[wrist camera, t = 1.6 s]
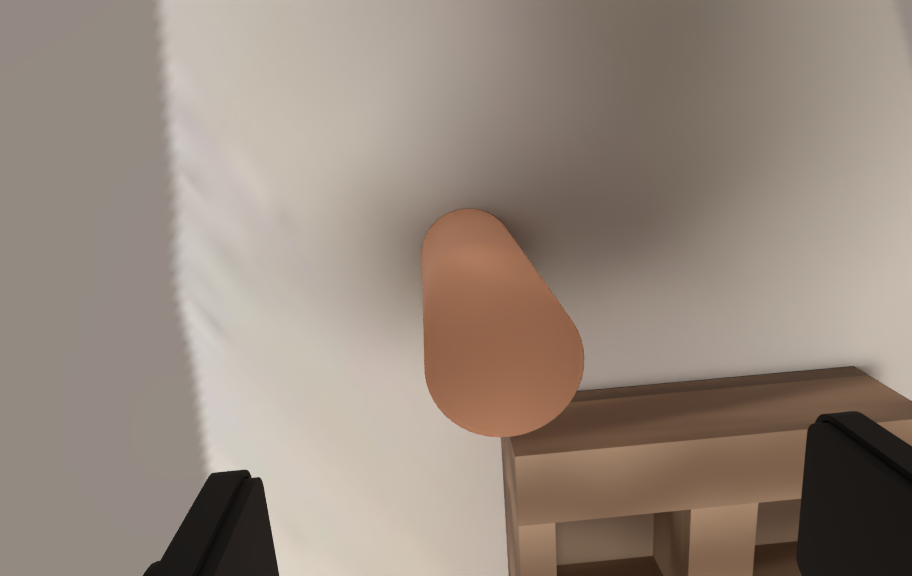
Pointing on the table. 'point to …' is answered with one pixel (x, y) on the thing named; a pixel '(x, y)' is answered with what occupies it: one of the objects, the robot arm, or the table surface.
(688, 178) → the table surface
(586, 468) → the socket block
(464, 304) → the pin
